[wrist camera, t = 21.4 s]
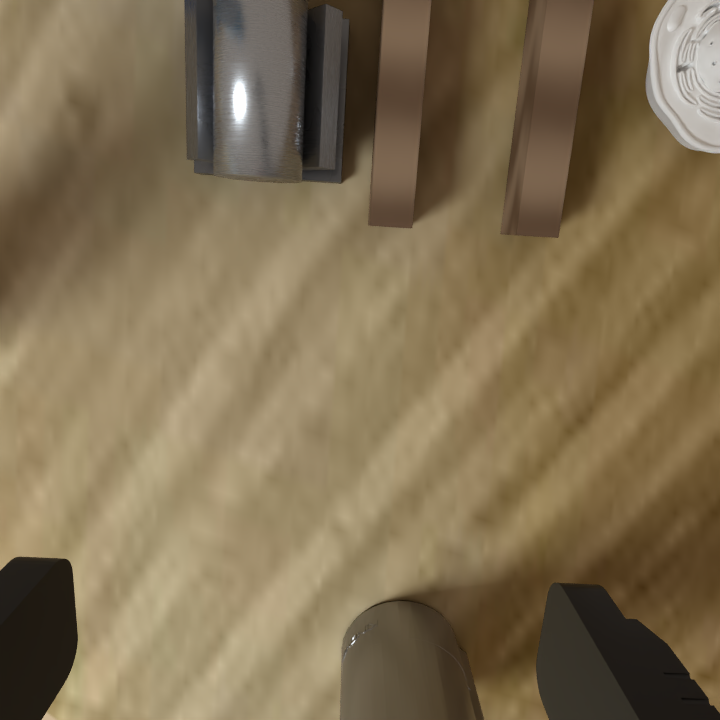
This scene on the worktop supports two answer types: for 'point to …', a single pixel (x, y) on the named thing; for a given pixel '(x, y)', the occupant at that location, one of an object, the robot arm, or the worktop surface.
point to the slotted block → (532, 119)
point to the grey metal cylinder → (259, 89)
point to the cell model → (687, 72)
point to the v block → (320, 90)
